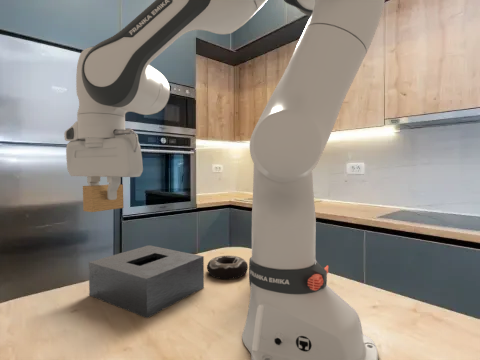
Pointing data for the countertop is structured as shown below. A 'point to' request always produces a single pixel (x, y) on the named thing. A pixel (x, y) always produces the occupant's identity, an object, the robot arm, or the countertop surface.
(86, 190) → the brown wooden block
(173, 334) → the countertop surface
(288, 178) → the robot arm
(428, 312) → the countertop surface
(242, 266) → the donut
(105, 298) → the post box
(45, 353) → the countertop surface
